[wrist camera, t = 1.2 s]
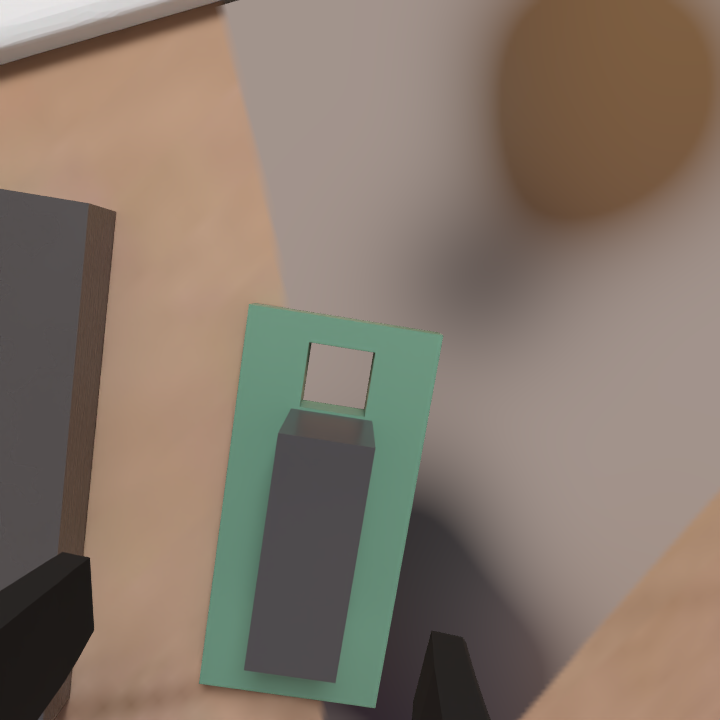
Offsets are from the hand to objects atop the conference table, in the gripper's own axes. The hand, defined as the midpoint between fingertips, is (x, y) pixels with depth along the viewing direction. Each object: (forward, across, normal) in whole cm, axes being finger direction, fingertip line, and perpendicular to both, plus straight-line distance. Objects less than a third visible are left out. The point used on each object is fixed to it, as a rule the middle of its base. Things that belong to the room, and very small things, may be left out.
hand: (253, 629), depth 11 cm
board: (+10, 0, +4) cm, 10 cm away
